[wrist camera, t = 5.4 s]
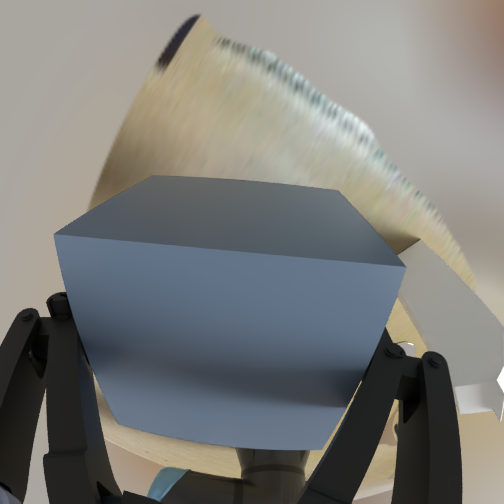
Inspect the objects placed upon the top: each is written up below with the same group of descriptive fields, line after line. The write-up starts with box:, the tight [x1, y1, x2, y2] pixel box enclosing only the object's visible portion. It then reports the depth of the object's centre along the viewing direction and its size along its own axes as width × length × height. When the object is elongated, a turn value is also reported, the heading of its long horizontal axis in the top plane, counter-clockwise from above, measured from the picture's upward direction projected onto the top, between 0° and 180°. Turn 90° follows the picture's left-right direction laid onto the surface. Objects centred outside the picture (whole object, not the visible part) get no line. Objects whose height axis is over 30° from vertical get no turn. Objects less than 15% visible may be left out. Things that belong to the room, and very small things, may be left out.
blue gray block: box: [54, 176, 407, 450], centre depth 13 cm, size 10×10×9 cm
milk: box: [397, 240, 504, 421], centre depth 22 cm, size 6×6×22 cm
